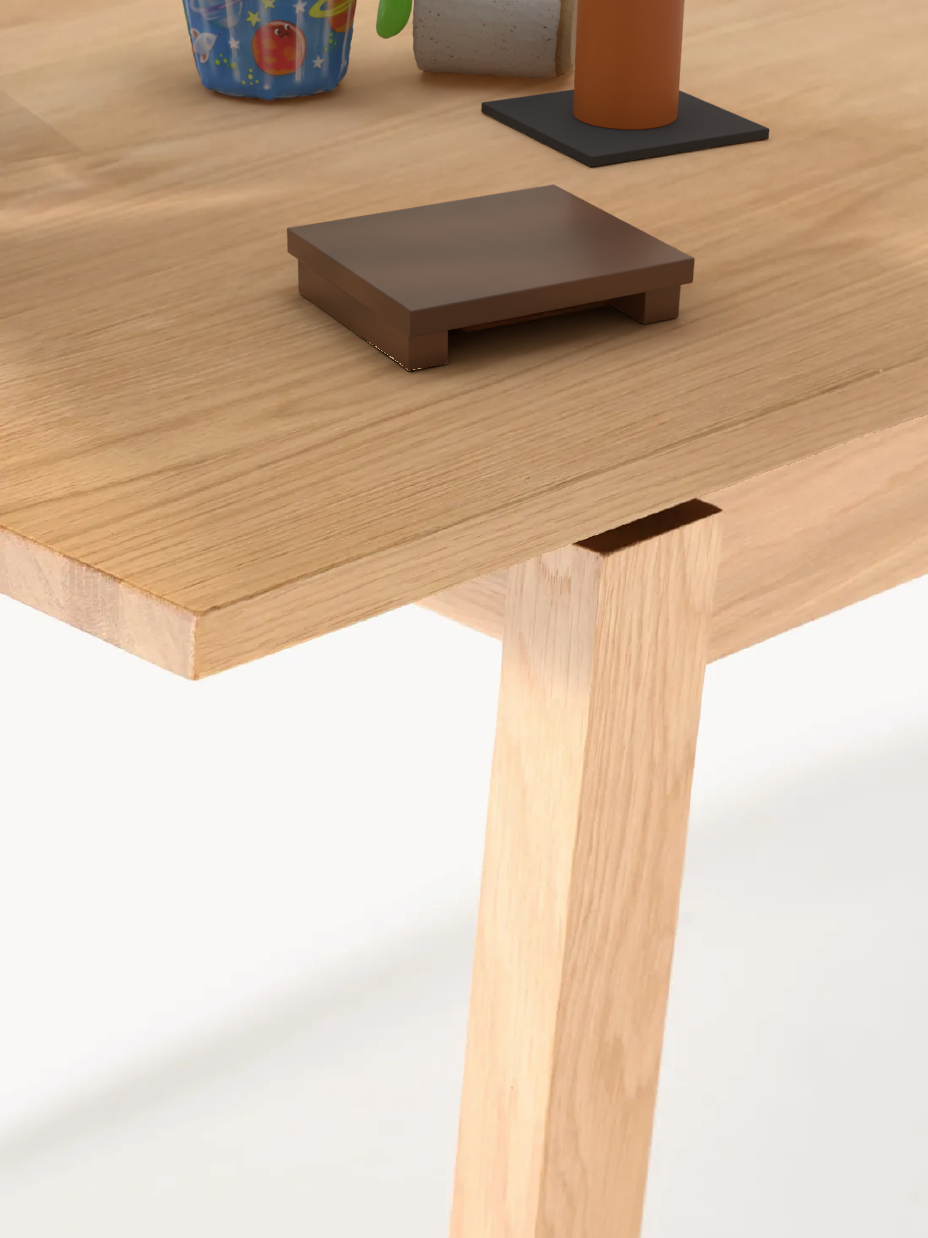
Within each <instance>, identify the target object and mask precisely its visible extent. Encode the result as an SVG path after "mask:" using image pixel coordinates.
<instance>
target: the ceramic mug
mask: <svg viewBox="0 0 928 1238" xmlns="http://www.w3.org/2000/svg"><path fill="white" fill-rule="evenodd" d="M576 24H577V0H413V6H412V50H413V56H414V60H415V63H416V67H417V69H419V70H420V71H422V72H427V73H443V74H444V73H445V74H460V75H471V76H472V75H473V76H501V77H511V78H521V79H522V78H523V79H549V78H551V79H552V78H559V77H563V76H565V75H566V74H567V73H569V72H570V71H571V70H572V69H573V67H574V66H575V49H576Z"/></svg>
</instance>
